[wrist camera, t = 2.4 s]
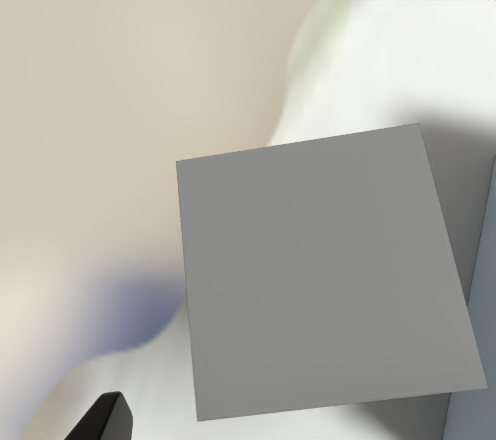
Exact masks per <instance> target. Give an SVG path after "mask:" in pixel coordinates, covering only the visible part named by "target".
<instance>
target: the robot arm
mask: <svg viewBox="0 0 496 440" xmlns="http://www.w3.org/2000/svg"><path fill="white" fill-rule="evenodd" d="M132 427H133V416H132V413H131V410H130V408H129V406H128V404H127V402H126V400H125V398H124V396H123V394H122V393H121V392H119V391H116V392H108V393H104V394H102V395H101V396H100V397H99V398H98V399H97V400H96V401H95V403H94V404H93V405H92V406H91V408H90V409H89V410H88V411H87V412H86V414H85V415H84V416H83V417H82V419H81V420H80V421H79V422H78V423H77V425H76V426H75V427H74V428H73V430H72V431H71V432H70V433H69V434H68V436H67V437H66V438H65V439H64V440H131V437H132Z"/></svg>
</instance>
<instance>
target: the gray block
mask: <svg viewBox="0 0 496 440" xmlns="http://www.w3.org/2000/svg"><path fill="white" fill-rule="evenodd" d="M176 168H177V180H178V193H179V205H180V217H181V227H182V240H183V253H184V265H185V278H186V290H187V302H188V314H189V326H190V338H191V350H192V363H193V375H194V387H195V399H196V411H197V422H198V421H206V420H215V419H224V418H232V417H241V416H250V415H258V414H267V413H276V412H284V411H293V410H302V409H310V408H319V407H328V406H336V405H345V404H354V403H362V402H371V401H380V400H388V399H397V398H406V397H414V396H423V395H432V394H440V393H449V392H458V391H466V390H475V389H484V388H488V386H487V382H486V378H485V375H484V371H483V367H482V363H481V359H480V355H479V352H478V348H477V344H476V340H475V336H474V332H473V329H472V325H471V321H470V317H469V313H468V309H467V305H466V302H465V298H464V294H463V290H462V286H461V282H460V279H459V275H458V271H457V267H456V263H455V259H454V256H453V252H452V248H451V244H450V240H449V236H448V233H447V229H446V225H445V221H444V217H443V213H442V209H441V206H440V202H439V198H438V194H437V190H436V186H435V183H434V179H433V175H432V171H431V167H430V163H429V160H428V156H427V152H426V148H425V144H424V140H423V137H422V133H421V129H420V125H419V123H416V124H410V125H403V126H397V127H391V128H384V129H378V130H372V131H365V132H359V133H352V134H346V135H340V136H333V137H327V138H321V139H314V140H308V141H302V142H295V143H289V144H282V145H276V146H270V147H263V148H257V149H251V150H245V151H238V152H232V153H225V154H219V155H213V156H207V157H200V158H193V159H187V160H181V161H176Z"/></svg>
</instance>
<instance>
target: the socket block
mask: <svg viewBox="0 0 496 440" xmlns="http://www.w3.org/2000/svg"><path fill="white" fill-rule="evenodd" d="M467 309H468V313H469V317H470V321H471V325H472V329H473V332H474V336H475V340H476V344H477V348H478V352H479V355H480V359H481V363H482V367H483V371H484V375H485V378H486V382H487V386H488V388H484V389H475V390H466V391H458V392H451V396H450V402H449V407H448V412H447V418H446V423H445V428H444V434H443V439H442V440H496V157H495V163H494V168H493V173H492V179H491V184H490V189H489V194H488V200H487V205H486V210H485V216H484V221H483V226H482V232H481V237H480V242H479V248H478V253H477V258H476V264H475V269H474V274H473V279H472V285H471V290H470V295H469V301H468V306H467Z"/></svg>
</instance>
